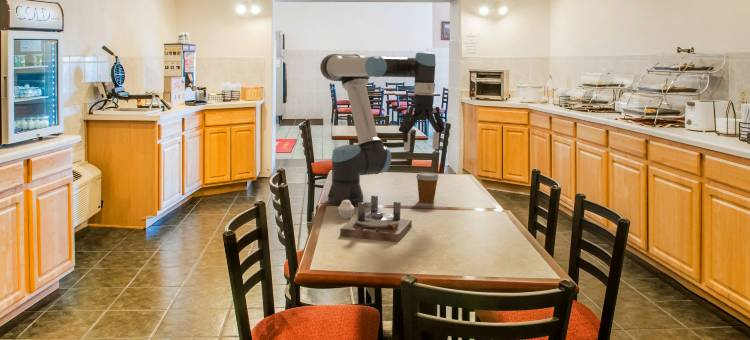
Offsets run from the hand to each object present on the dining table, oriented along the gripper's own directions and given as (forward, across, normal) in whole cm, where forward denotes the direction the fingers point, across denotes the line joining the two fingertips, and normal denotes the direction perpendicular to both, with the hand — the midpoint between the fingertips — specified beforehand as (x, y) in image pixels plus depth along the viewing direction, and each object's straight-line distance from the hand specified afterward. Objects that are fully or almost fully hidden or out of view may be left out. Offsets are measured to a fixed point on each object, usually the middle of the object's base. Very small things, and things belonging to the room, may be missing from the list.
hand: (421, 149), depth 230 cm
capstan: (+22, -28, -15) cm, 39 cm away
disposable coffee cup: (+25, +15, +15) cm, 33 cm away
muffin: (+25, -29, +6) cm, 39 cm away
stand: (+25, -29, -15) cm, 41 cm away
